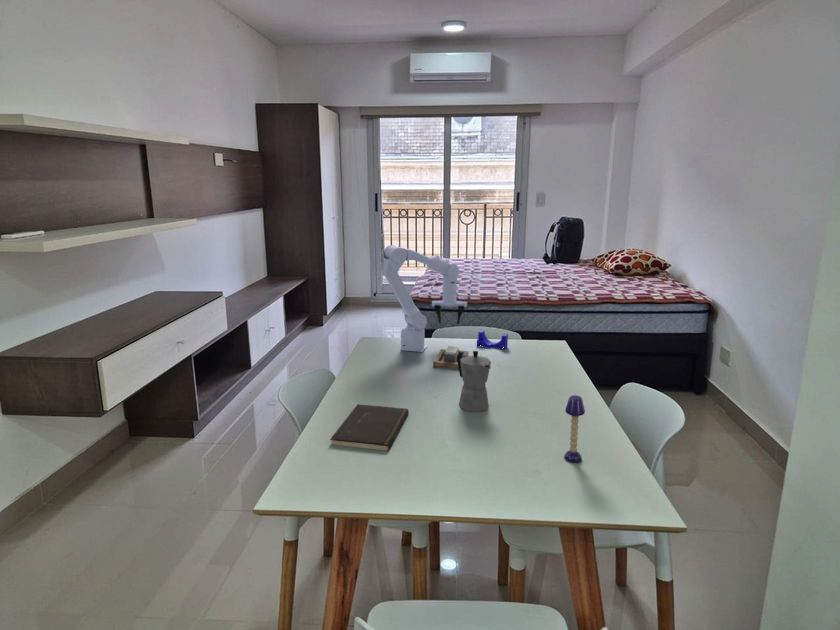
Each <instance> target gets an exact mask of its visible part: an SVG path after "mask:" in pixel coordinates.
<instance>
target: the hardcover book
mask: <svg viewBox="0 0 840 630" xmlns="http://www.w3.org/2000/svg"><path fill="white" fill-rule="evenodd" d="M409 414H410V413H409V409H408V408H403V407H402V408H401V407H394V406H393V407H392V406H383V405H382V406H379V405H371V404H370V405H369V404H359V403H358V404H356V406H355V407H354V408H353V409H352V411H351V412H350V413H349V415H348V416H347V417H346V418H345V419H344V420H343V422H342V424H340V426H339V427H338V429H337V430H336V431H335V432H334V434H333V435H332V436H331V437H330V439H329V440H330V441H331V445H332V446H333V445H335V446H341V447H342V446H343V447H351V448H352V447H353V448H359V449H360V448H361V449H367V450H368V449H369V450H377V451H388V452H389V451H390V449H391V447H392V445H393V444H394V442H395V440H396V439H397V437H398V435H399V433H400V431H401V429H402V427H403V425H404V424H405V421H406V419H407V418H408V416H409Z"/></svg>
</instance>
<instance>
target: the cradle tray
mask: <svg viewBox="0 0 840 630" xmlns="http://www.w3.org/2000/svg"><path fill="white" fill-rule="evenodd" d="M446 350H447V348H446V349H443V348H441V349H440V351H439V352H438V354H437V355H436V357H435V359H434V360H433V363H432V366H433V368H439V369H440V368H442V369H452V370H459V368H458V362H457V360H456V362H444V353H445V351H446ZM460 352H462V353H464V354H468V355H469V351H468V350H459V353H460ZM459 353H458V354H459Z"/></svg>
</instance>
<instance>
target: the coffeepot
mask: <svg viewBox="0 0 840 630" xmlns="http://www.w3.org/2000/svg"><path fill="white" fill-rule="evenodd" d="M472 353H473V355H470V354H469V353H468V354H464V353H462V352H460V353H459V354H458V355H457V362H458V368H459V369H458V372H459V376H460V378H461V380H462V381H463V385H462V387H461V393H460V397H459V401H458V404H459V406H460V408H461V409H462V410H464V411H466V412H471V413H478V412H479V413H480V412H483V411H486V410H487V409H488V408H489V406H490V405H489V399H488V391H487V386H486V383H487V382H488V378H489V374H490V373H489V372H490V370H491V368H492V367H491V365H492V363H491V362H492V361H491V360H490V359H489V357H486V356H485V357H484V356H481V355H479V351H478V350H473V351H472Z"/></svg>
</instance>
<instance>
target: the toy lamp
mask: <svg viewBox="0 0 840 630" xmlns="http://www.w3.org/2000/svg"><path fill="white" fill-rule="evenodd" d="M585 411H586V410H585V406H584V401H583V398H582V396H581V395H576V394H574V395H570V396H569V398H568V400H567V403H566V406H565V411H564V412H565V413H566V415H567V414H568V415H569V416H571V420H570V423H571V424H570V429H571V430H570V435H569V436H570V437H569V438H570V441H569V445H570V447H569V450H567V451H566V452H565V453H564V457H563V458H564V460H565V461H567V462H569V463H574V464H577V463H580V462H582V454H581V453H580V452H579V451H578V433H579V432H578V431H579V430H578V429H579V417H580V416H583V415H585V414H586V412H585Z"/></svg>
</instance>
